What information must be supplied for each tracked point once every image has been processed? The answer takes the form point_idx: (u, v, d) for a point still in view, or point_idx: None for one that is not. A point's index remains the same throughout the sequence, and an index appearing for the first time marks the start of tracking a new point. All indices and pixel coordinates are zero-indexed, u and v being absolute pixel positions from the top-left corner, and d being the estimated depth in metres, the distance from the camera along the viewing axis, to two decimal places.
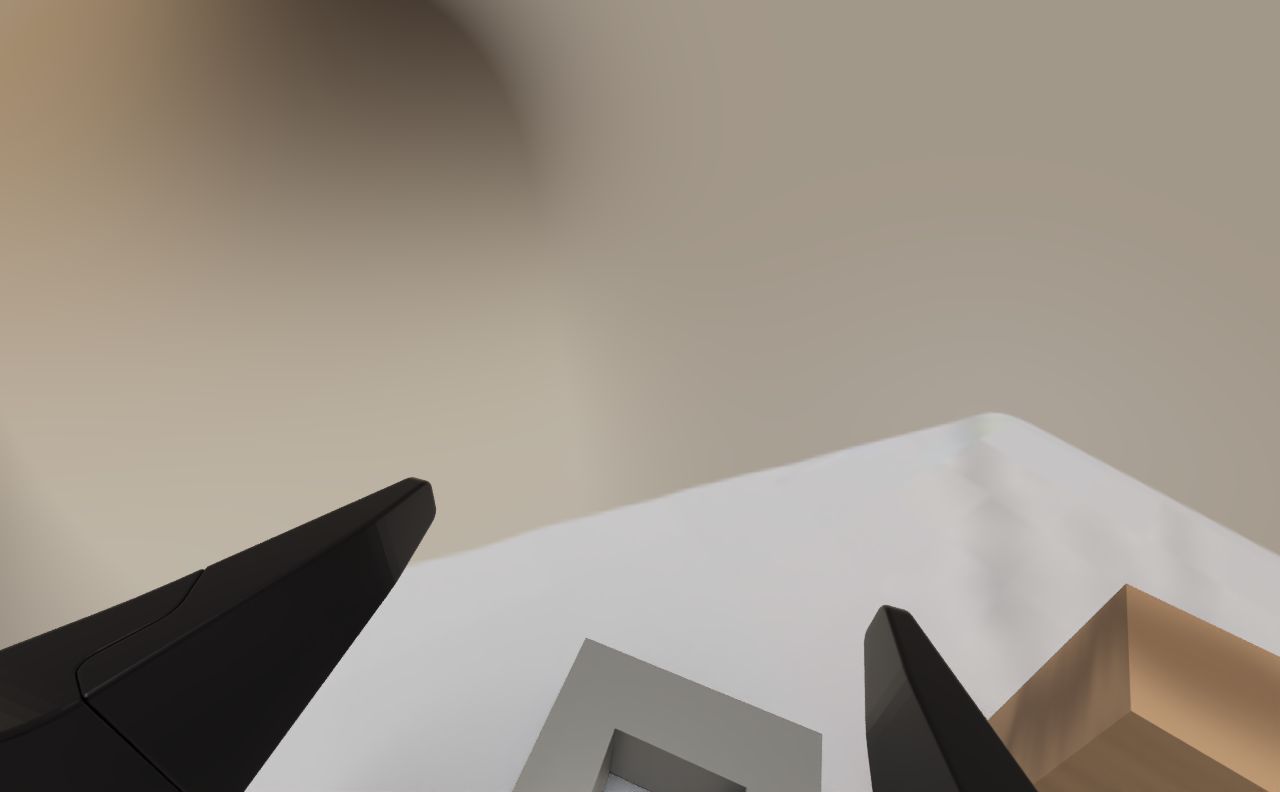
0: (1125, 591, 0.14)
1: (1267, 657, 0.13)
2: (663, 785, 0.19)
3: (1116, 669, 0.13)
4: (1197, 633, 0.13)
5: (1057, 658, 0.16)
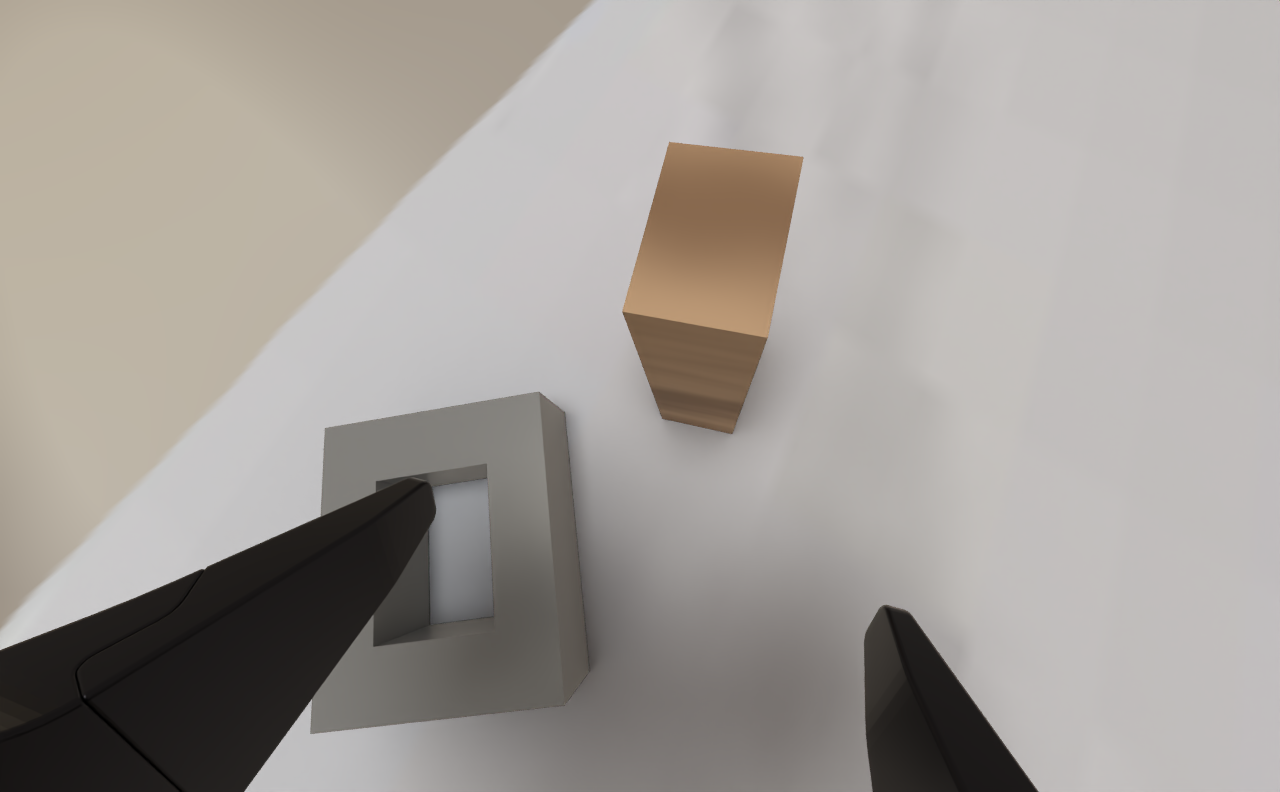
0: (666, 154, 0.12)
1: (781, 164, 0.12)
2: (458, 478, 0.23)
3: None
4: (721, 172, 0.12)
5: None
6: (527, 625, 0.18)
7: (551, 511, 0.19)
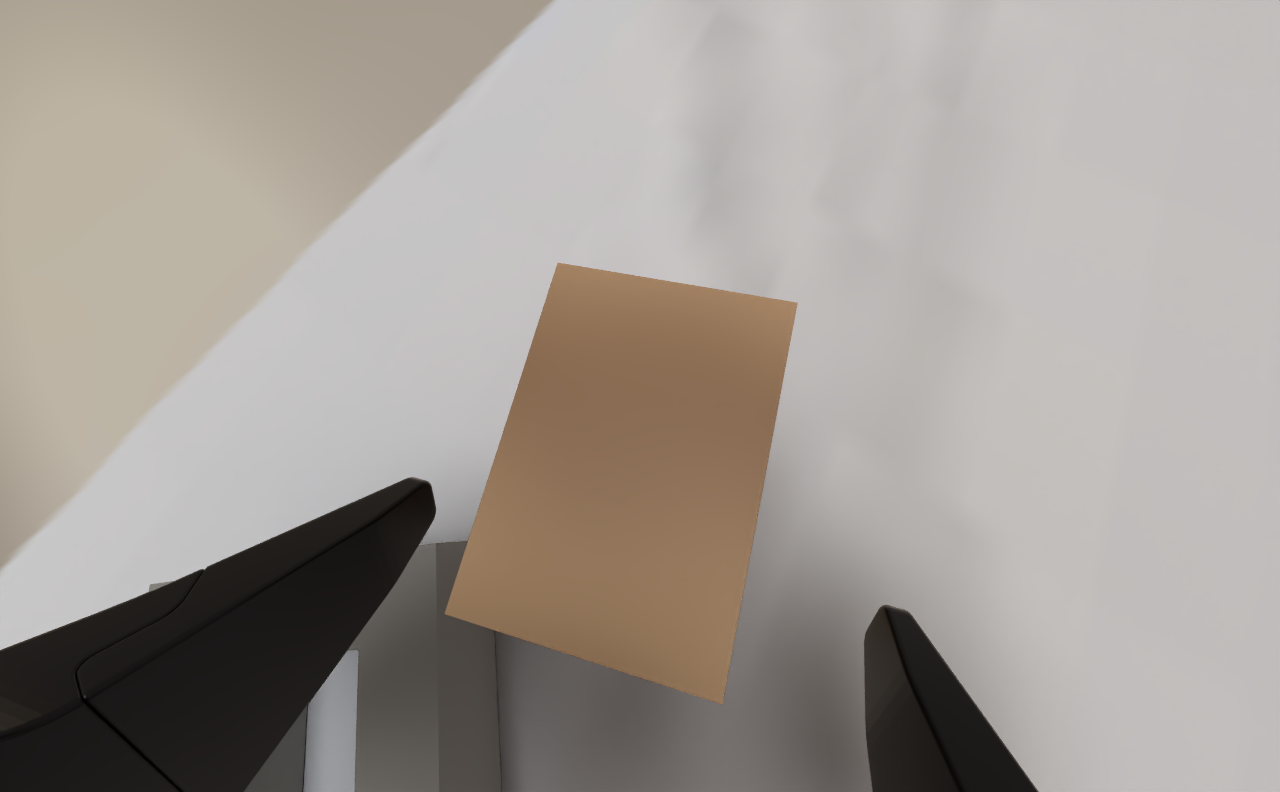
0: (552, 285, 0.07)
1: (756, 316, 0.06)
2: None
3: None
4: (645, 328, 0.07)
5: None
6: None
7: (446, 721, 0.14)
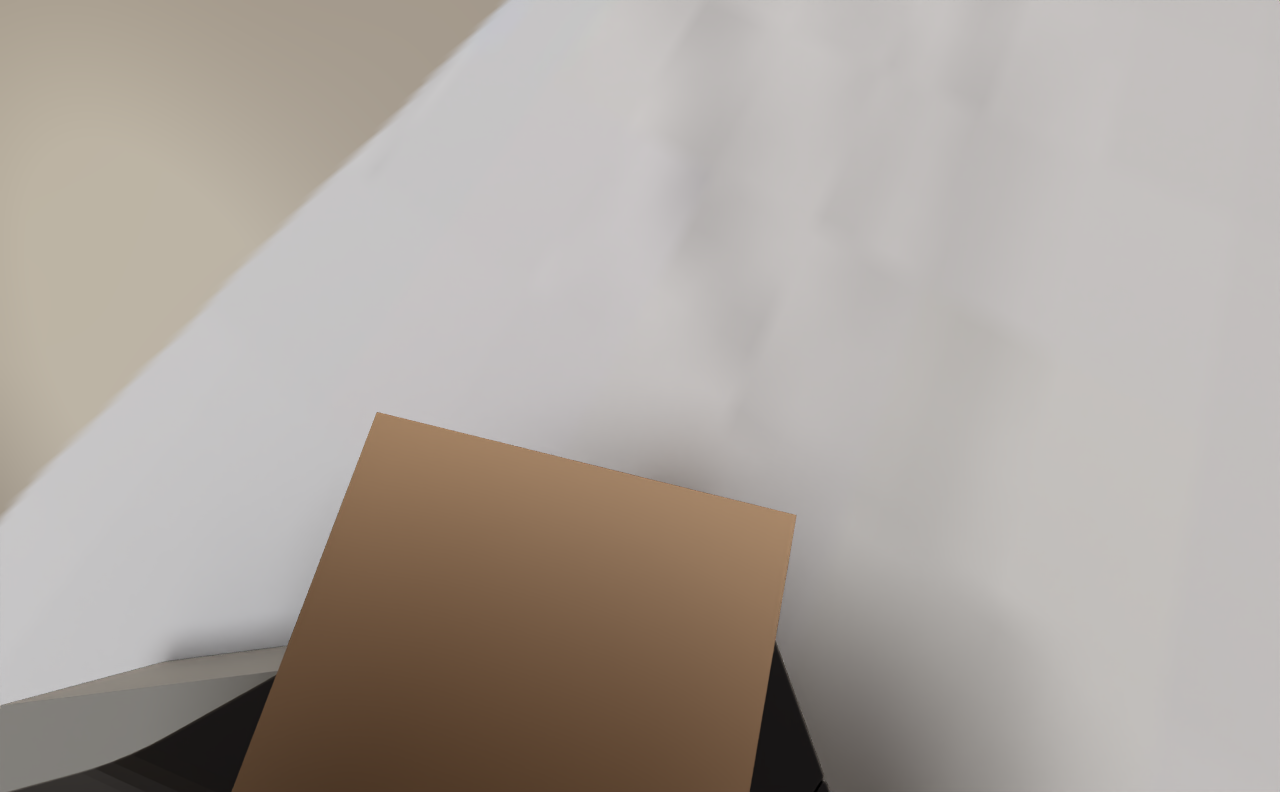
0: (366, 452, 0.04)
1: (718, 539, 0.03)
2: None
3: None
4: (517, 550, 0.04)
5: None
6: None
7: None
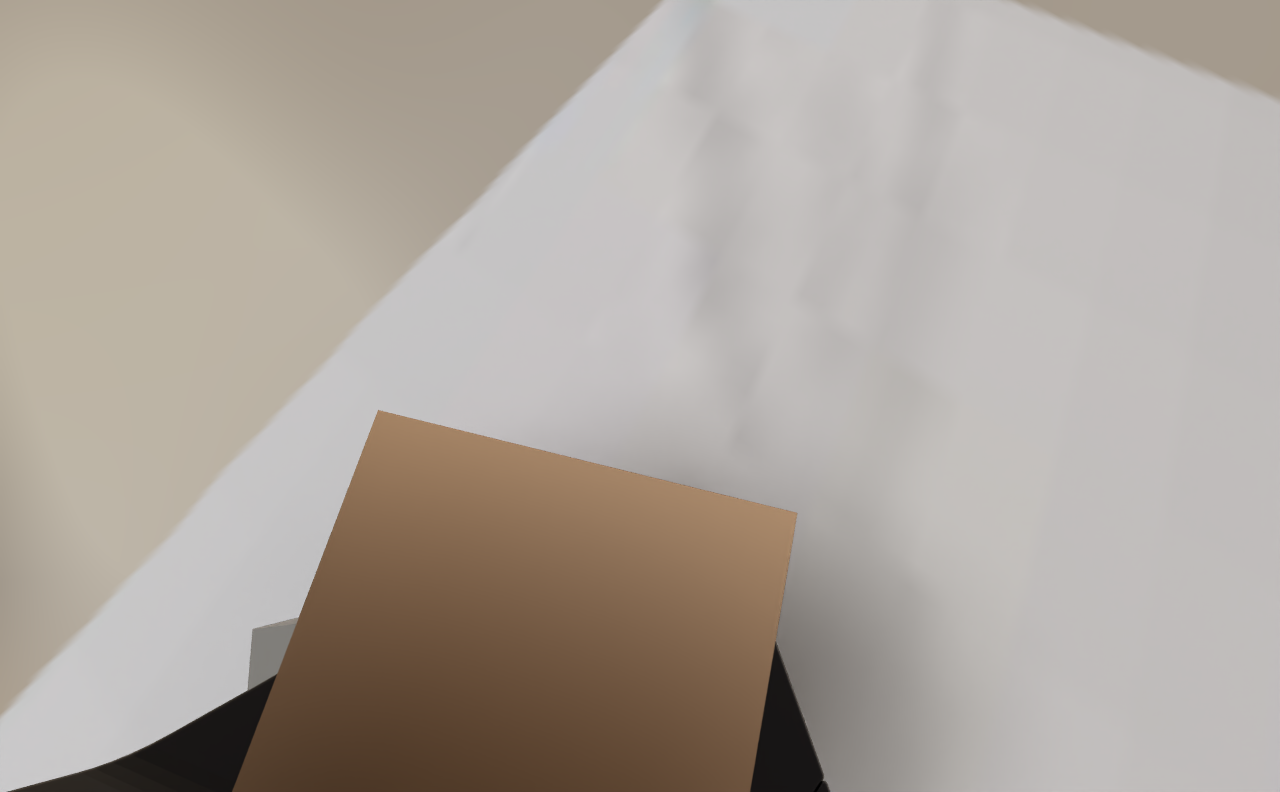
0: (367, 450, 0.04)
1: (719, 536, 0.03)
2: None
3: None
4: (518, 549, 0.04)
5: None
6: None
7: None
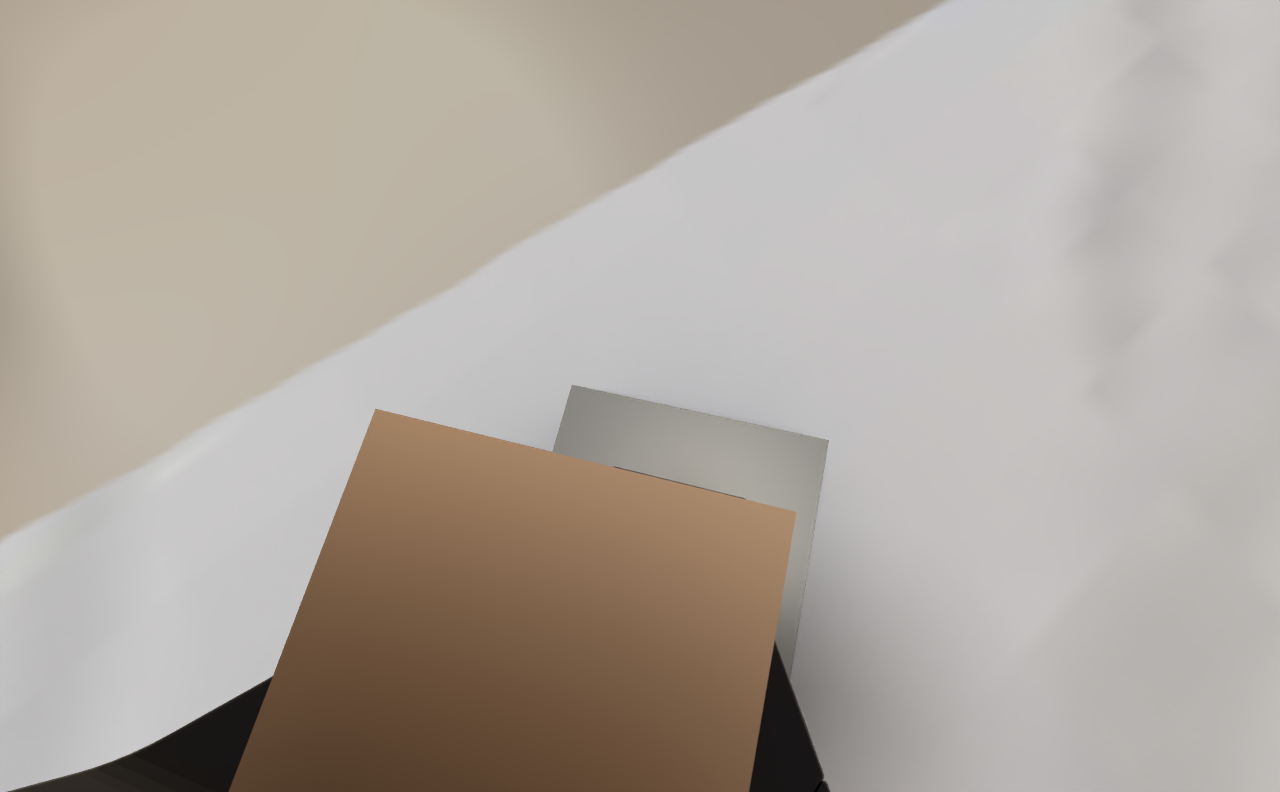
0: (364, 449, 0.04)
1: (718, 535, 0.03)
2: None
3: None
4: (515, 548, 0.04)
5: None
6: None
7: (802, 581, 0.16)
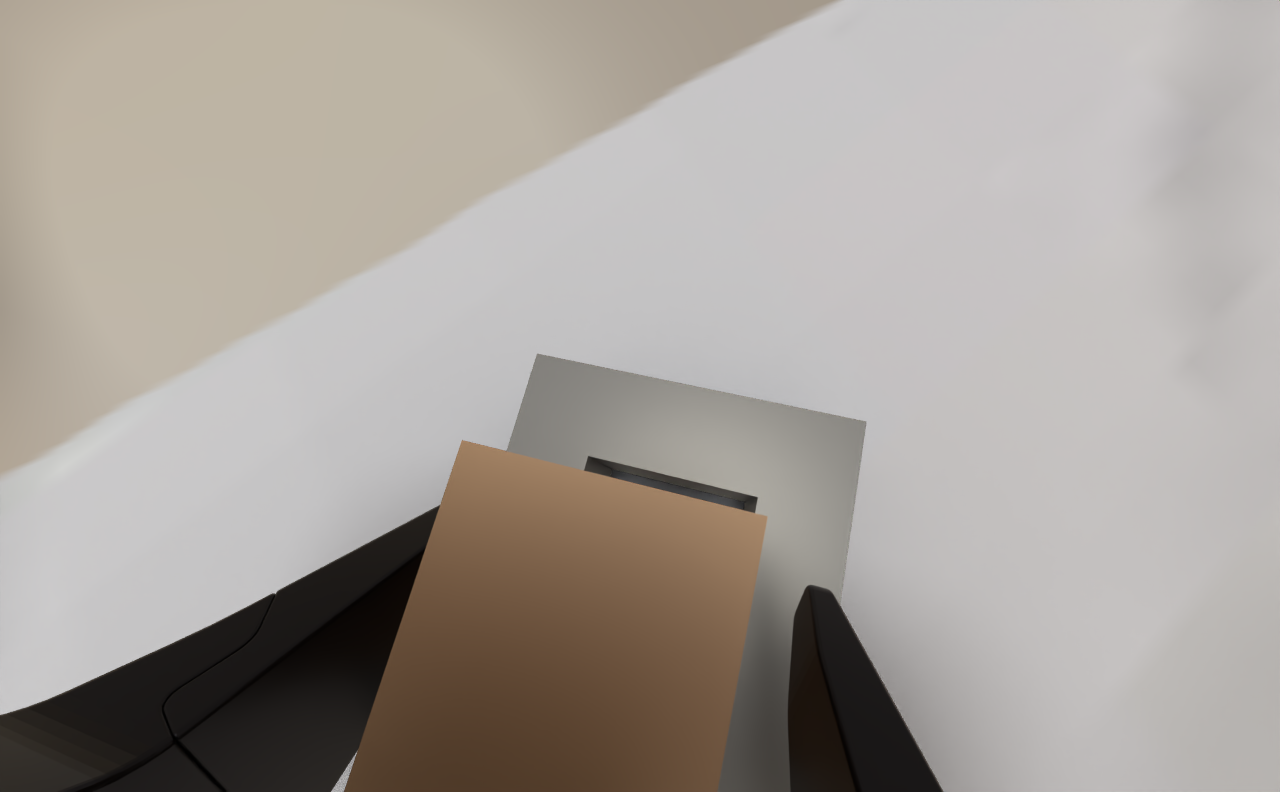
0: (454, 469, 0.05)
1: (713, 533, 0.05)
2: (668, 481, 0.16)
3: None
4: (569, 541, 0.05)
5: None
6: (762, 773, 0.11)
7: None
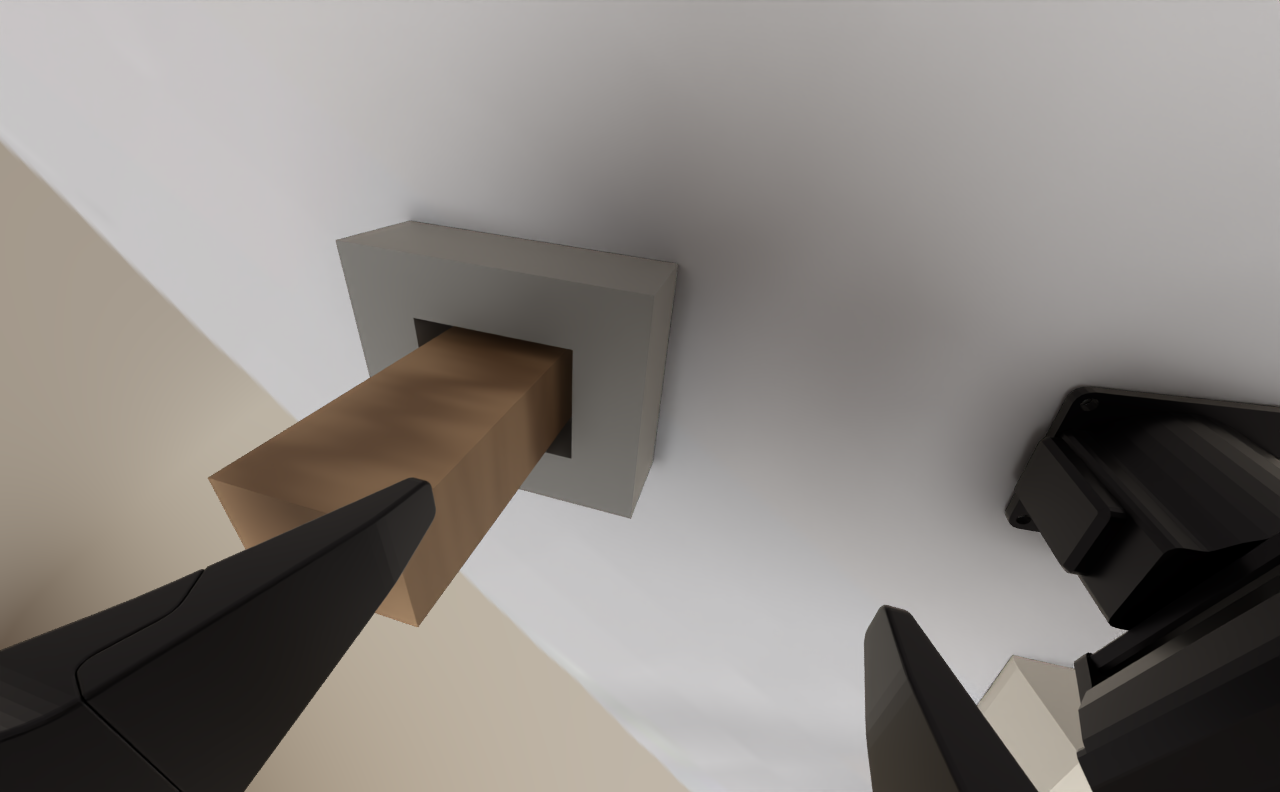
0: None
1: (225, 496, 0.11)
2: None
3: None
4: None
5: None
6: (571, 315, 0.16)
7: (466, 259, 0.16)
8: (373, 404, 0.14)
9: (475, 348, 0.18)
